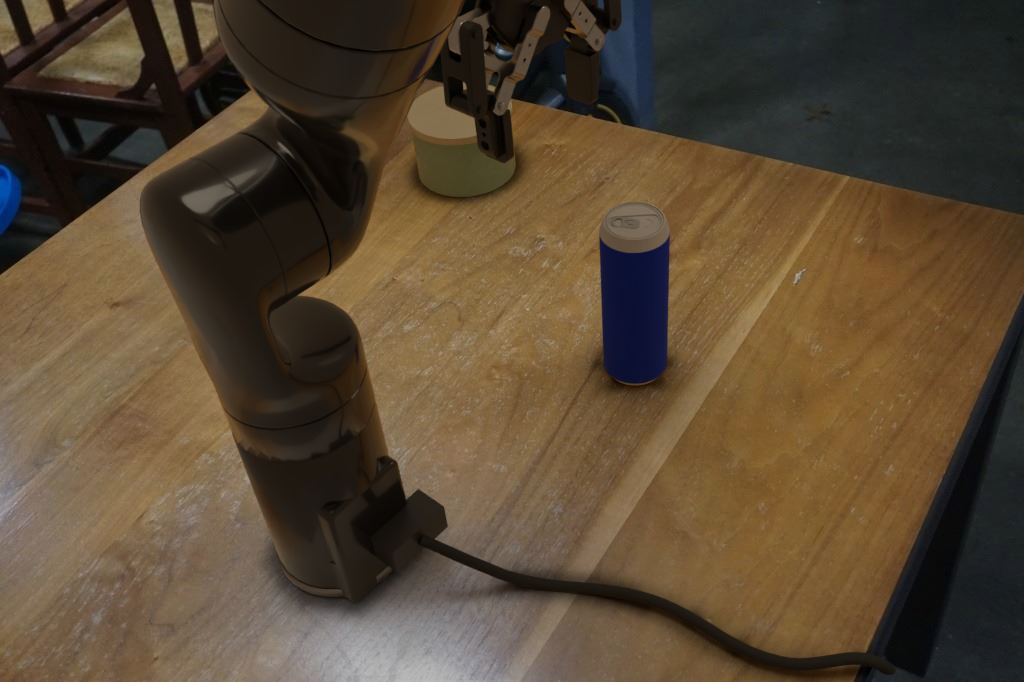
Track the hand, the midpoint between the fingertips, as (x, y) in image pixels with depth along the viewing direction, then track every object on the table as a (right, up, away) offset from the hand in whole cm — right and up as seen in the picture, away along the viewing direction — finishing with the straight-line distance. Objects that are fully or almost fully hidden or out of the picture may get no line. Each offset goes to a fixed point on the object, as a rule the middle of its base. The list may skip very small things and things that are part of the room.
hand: (542, 127), depth 73 cm
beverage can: (+8, -16, +18) cm, 25 cm away
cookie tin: (-7, +4, +40) cm, 41 cm away
